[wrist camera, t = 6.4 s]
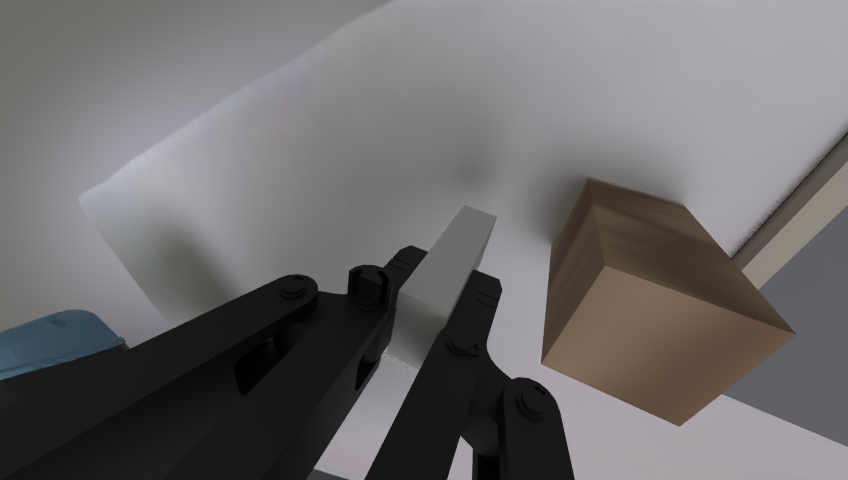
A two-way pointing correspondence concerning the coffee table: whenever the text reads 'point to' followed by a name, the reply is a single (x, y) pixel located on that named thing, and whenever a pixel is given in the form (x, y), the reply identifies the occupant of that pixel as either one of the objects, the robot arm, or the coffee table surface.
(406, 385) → the coffee table surface
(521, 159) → the coffee table surface
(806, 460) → the coffee table surface
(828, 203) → the grey flat square piece
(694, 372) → the block
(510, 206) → the coffee table surface
